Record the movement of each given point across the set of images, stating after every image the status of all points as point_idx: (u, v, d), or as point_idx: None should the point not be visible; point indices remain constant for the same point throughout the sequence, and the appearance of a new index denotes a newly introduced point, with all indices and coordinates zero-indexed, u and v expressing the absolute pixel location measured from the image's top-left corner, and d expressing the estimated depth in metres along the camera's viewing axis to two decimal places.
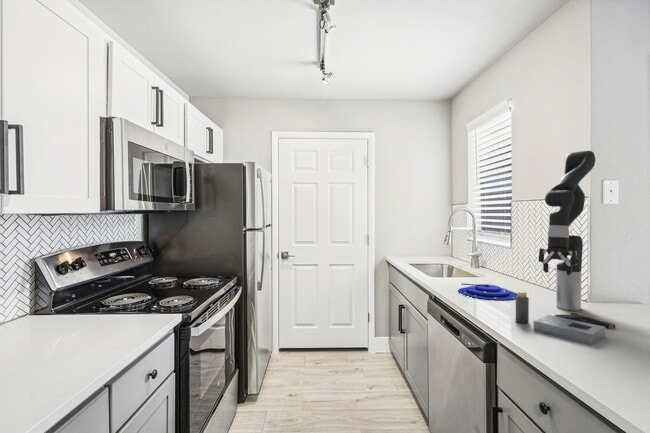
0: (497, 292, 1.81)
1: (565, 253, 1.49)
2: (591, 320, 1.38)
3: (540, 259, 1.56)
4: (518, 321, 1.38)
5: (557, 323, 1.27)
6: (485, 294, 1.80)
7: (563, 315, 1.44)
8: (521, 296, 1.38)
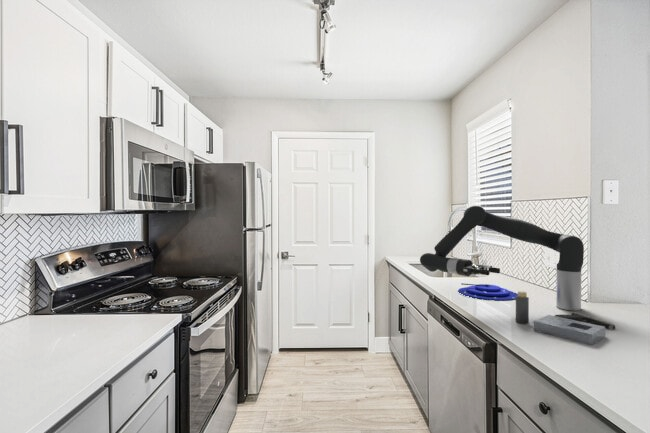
0: (497, 292, 1.81)
1: None
2: (591, 320, 1.37)
3: None
4: (518, 321, 1.38)
5: (557, 323, 1.27)
6: (485, 294, 1.80)
7: (563, 315, 1.43)
8: (521, 296, 1.38)
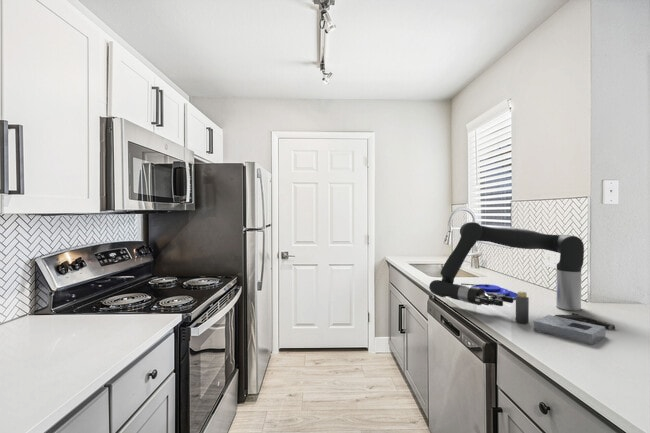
0: (497, 292, 1.81)
1: None
2: (591, 321, 1.37)
3: None
4: (518, 321, 1.38)
5: (557, 323, 1.27)
6: None
7: (563, 315, 1.43)
8: (521, 296, 1.38)
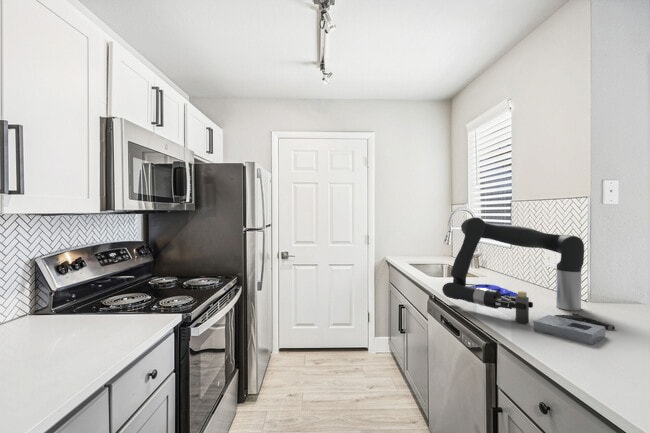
0: None
1: None
2: (591, 321, 1.37)
3: None
4: (518, 321, 1.38)
5: (557, 323, 1.27)
6: None
7: (563, 315, 1.43)
8: (521, 296, 1.38)
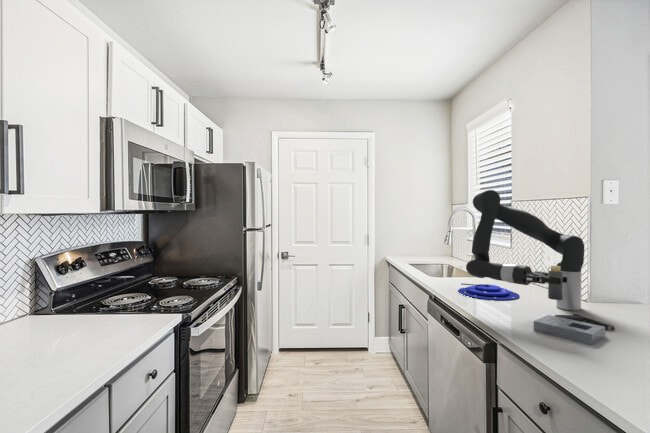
0: (497, 292, 1.81)
1: None
2: (591, 321, 1.36)
3: None
4: (551, 297, 1.29)
5: (557, 323, 1.27)
6: (485, 294, 1.80)
7: (563, 315, 1.43)
8: (555, 270, 1.29)
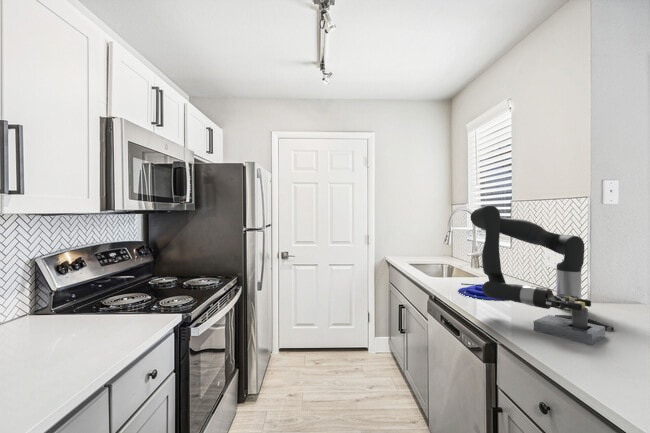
0: None
1: None
2: (591, 321, 1.36)
3: (574, 303, 1.30)
4: None
5: (557, 323, 1.27)
6: None
7: (563, 316, 1.43)
8: None
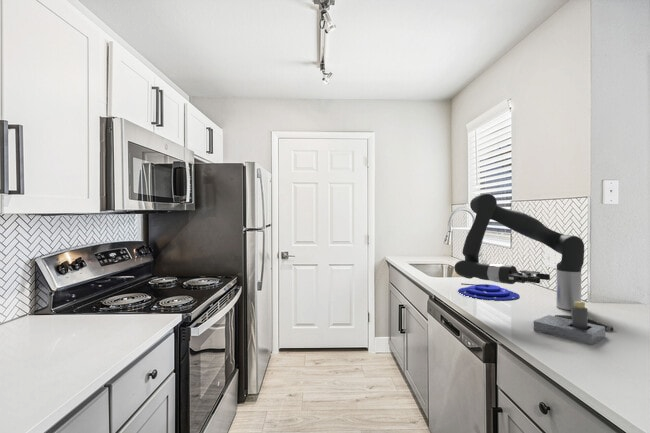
0: (497, 292, 1.81)
1: None
2: (590, 322, 1.35)
3: None
4: None
5: (557, 323, 1.27)
6: (485, 294, 1.80)
7: (563, 316, 1.43)
8: (579, 307, 1.23)
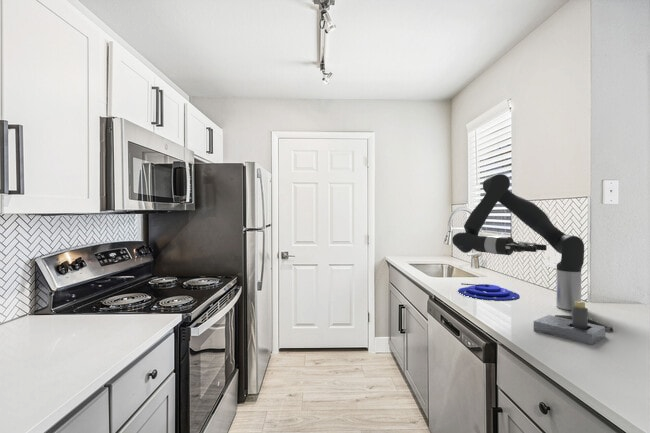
0: (497, 292, 1.81)
1: None
2: (590, 322, 1.35)
3: None
4: None
5: (557, 323, 1.27)
6: (485, 294, 1.80)
7: (563, 316, 1.43)
8: (579, 306, 1.23)
